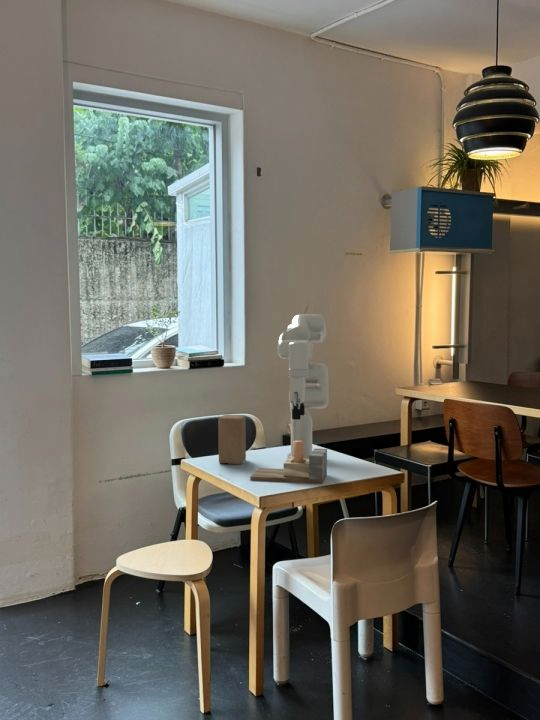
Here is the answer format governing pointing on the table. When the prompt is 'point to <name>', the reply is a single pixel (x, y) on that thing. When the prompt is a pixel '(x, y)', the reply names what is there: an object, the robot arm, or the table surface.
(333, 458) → the table surface
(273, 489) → the table surface
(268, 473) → the backstop board
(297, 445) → the dowel
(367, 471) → the table surface
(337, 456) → the table surface
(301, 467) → the sliding block
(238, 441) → the block
